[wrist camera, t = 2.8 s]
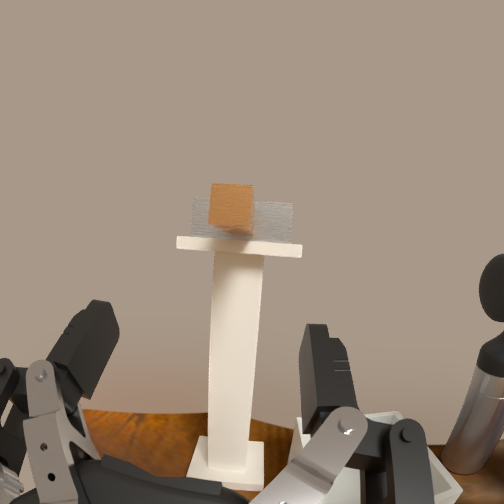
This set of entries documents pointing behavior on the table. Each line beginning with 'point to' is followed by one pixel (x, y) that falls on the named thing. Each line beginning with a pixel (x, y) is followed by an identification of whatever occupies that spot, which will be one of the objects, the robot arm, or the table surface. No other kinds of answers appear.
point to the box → (348, 480)
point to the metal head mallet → (240, 216)
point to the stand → (233, 361)
